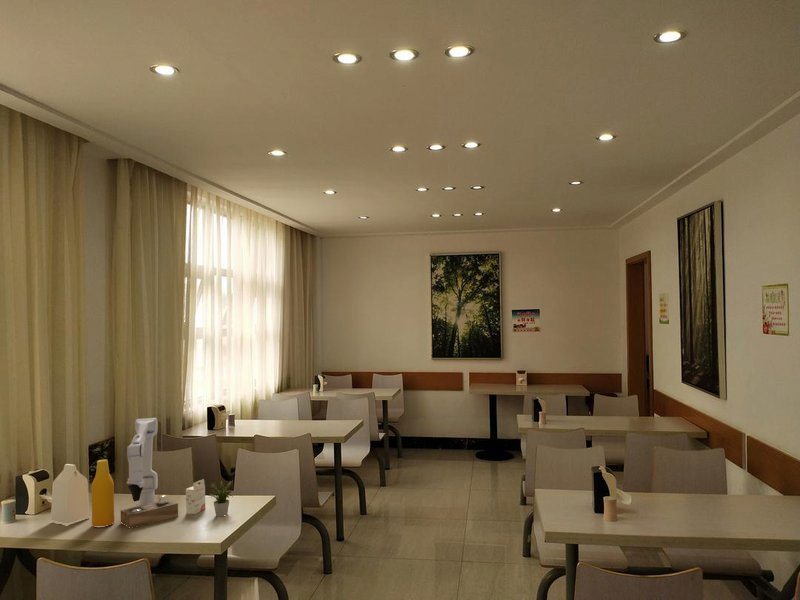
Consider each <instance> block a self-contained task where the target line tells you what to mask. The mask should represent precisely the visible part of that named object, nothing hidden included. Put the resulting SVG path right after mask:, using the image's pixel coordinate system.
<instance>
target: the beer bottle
mask: <svg viewBox="0 0 800 600" xmlns="http://www.w3.org/2000/svg"><path fill="white" fill-rule="evenodd" d="M108 460H109V459H99V460H97V463H96V470H95V471H96V472H95V476H94V478H93V480H92V483H91V526H92V525H93V526H106V525H110V524H112V523H114V524H115V521H116V520H115V489H114V488H115V484H114V479H113V478H112V475H111V474H110V469H109V461H108ZM93 526H92V527H93Z"/></svg>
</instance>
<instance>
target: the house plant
mask: <svg viewBox="0 0 800 600" xmlns="http://www.w3.org/2000/svg"><path fill="white" fill-rule="evenodd" d="M232 482H233V480H232V481H229V482H228V484H227V485H226V486H225V484H223V479H222V480H221V482H220V487H219V489H220V490H219V489H218V486H217V484H216V483H215V482H211V484H210V485H208V484H207V486H209V487H210V488H212V489H210V490H211V491H212V492H213V493H214V494H212V493H211V494H209V495H208V497H210V498H215V500H214V501H213V506H214V512H215V516H216V517H217V516H222V517H225V516H224V515H226V516H228V514H229V505H230V500H229V499H230V496H231V497H232V498H233V494H232V492H233V490H228V489H229V488H230V486H231V484H232ZM224 486H225V487H224ZM227 498H228V499H227Z"/></svg>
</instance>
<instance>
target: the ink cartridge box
mask: <svg viewBox="0 0 800 600" xmlns="http://www.w3.org/2000/svg"><path fill="white" fill-rule="evenodd" d="M185 505H186V506H185V507H186V511H185V513H186V515H187V514H188V515H196V514H198V513H200V512H203V511H204V510H206V484H205V479H204V478H202V479H200V480H197V481H195V482H193V483H192V486H190V487H187V488H185Z"/></svg>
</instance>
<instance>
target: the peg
mask: <svg viewBox="0 0 800 600" xmlns="http://www.w3.org/2000/svg"><path fill="white" fill-rule="evenodd" d="M167 499H168V495H167V494H162V495H158V496H157V502H158V505H159V506H161V505H165V504H167Z"/></svg>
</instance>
